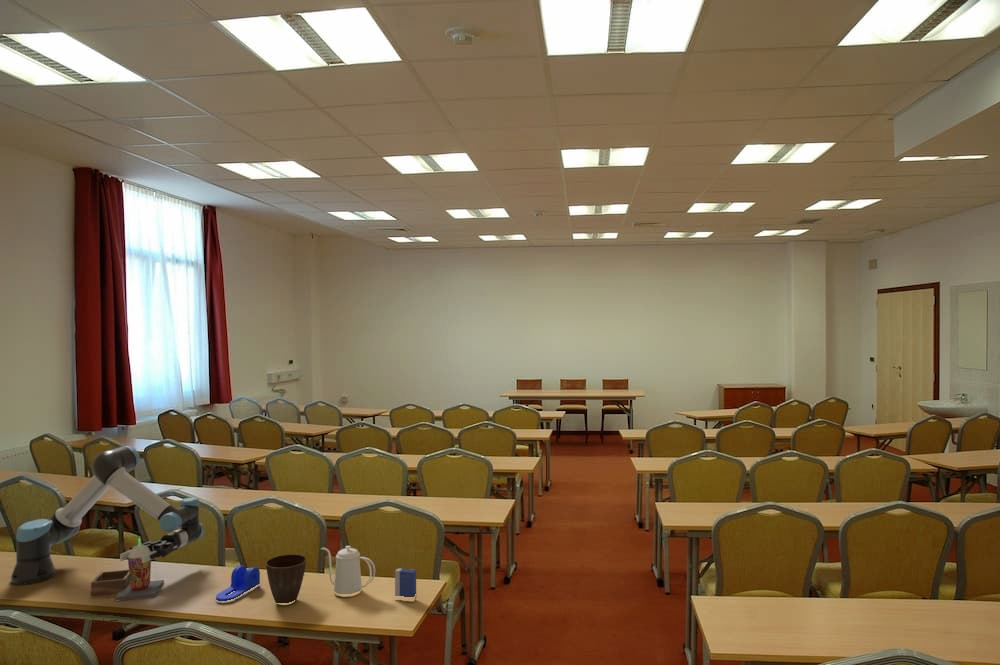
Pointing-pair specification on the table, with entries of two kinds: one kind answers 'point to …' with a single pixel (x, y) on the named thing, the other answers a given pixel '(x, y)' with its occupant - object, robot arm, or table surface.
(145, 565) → the smoothie
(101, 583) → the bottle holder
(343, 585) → the coffeepot
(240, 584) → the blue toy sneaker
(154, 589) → the mat
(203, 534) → the robot arm
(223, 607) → the table surface
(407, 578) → the walkman
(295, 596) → the plant pot
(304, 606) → the table surface
